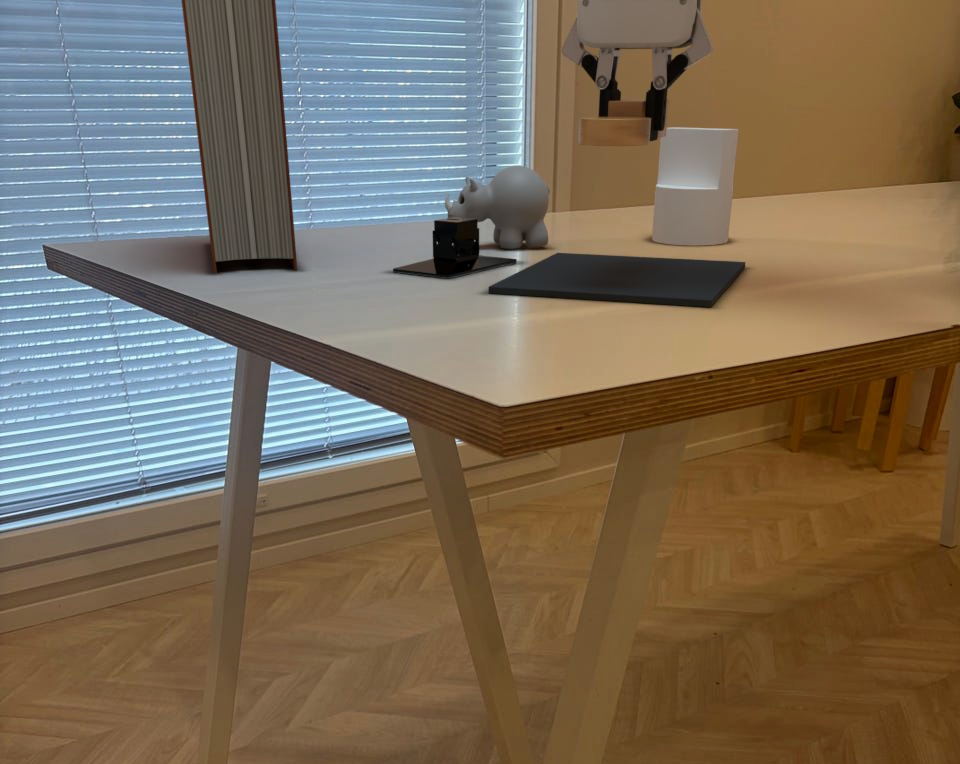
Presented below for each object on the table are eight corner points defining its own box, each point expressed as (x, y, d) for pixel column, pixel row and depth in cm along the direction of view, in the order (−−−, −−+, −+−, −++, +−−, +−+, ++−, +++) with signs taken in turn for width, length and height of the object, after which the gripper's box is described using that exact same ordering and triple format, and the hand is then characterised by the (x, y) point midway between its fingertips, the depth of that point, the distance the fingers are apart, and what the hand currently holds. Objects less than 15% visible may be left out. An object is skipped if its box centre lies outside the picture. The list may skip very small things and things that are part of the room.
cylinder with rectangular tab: (742, 239, 123) (754, 128, 118) (700, 247, 118) (711, 131, 112) (679, 233, 129) (688, 126, 123) (636, 240, 123) (644, 128, 117)
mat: (745, 268, 105) (745, 261, 105) (711, 307, 87) (711, 300, 86) (556, 258, 111) (557, 252, 111) (488, 293, 93) (488, 286, 92)
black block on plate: (463, 257, 112) (463, 212, 110) (519, 264, 109) (520, 216, 106) (391, 271, 103) (390, 222, 101) (450, 279, 100) (450, 227, 97)
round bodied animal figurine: (440, 244, 121) (439, 164, 117) (540, 241, 123) (542, 163, 118) (450, 253, 114) (448, 169, 110) (554, 249, 116) (557, 167, 112)
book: (297, 270, 104) (267, -89, 90) (215, 273, 103) (171, -92, 88) (279, 240, 124) (253, -59, 109) (210, 243, 122) (174, -61, 108)
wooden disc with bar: (620, 135, 101) (622, 98, 99) (681, 136, 99) (684, 99, 98) (570, 145, 86) (571, 102, 84) (641, 146, 84) (644, 102, 82)
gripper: (754, -109, 84) (728, 139, 93) (562, -99, 89) (554, 136, 98) (742, -124, 78) (715, 144, 87) (536, -113, 83) (531, 140, 92)
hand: (630, 137), depth 92 cm, fingers closed on wooden disc with bar, 3 cm apart
